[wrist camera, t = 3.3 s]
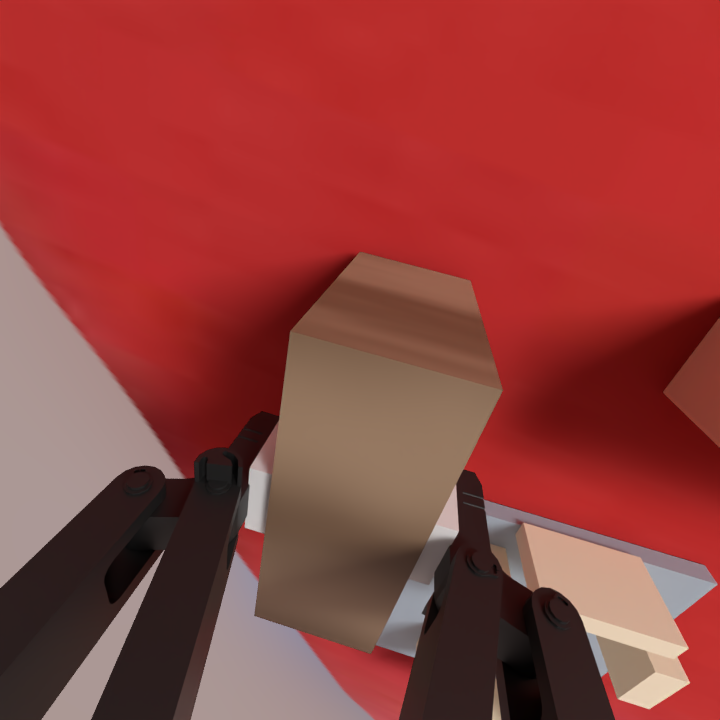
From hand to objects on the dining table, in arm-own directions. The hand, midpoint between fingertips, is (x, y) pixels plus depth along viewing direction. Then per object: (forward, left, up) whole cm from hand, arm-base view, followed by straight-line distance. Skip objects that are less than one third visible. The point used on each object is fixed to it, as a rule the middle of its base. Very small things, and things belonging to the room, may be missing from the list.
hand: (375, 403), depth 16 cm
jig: (+13, +12, -2) cm, 18 cm away
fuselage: (0, 0, -1) cm, 1 cm away
